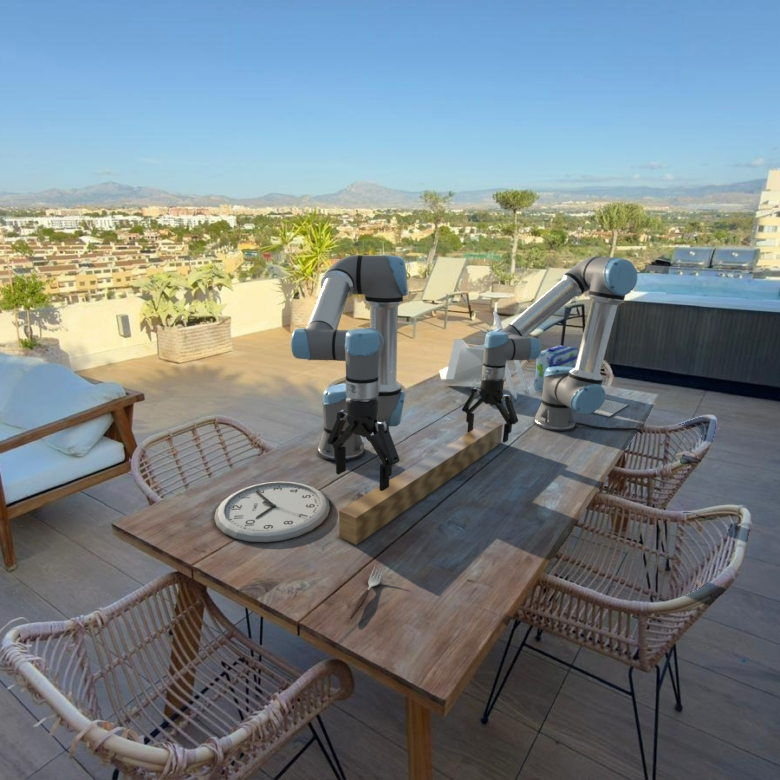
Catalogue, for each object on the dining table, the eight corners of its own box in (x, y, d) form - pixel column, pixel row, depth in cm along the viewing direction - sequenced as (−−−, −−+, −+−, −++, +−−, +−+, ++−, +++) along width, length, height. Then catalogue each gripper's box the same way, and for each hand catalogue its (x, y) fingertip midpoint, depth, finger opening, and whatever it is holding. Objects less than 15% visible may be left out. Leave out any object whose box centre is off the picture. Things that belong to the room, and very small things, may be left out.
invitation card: (608, 416, 214) (573, 407, 224) (608, 416, 214) (573, 408, 224) (628, 404, 229) (594, 396, 238) (628, 405, 229) (594, 397, 238)
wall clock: (328, 534, 126) (200, 538, 124) (328, 540, 127) (201, 544, 124) (331, 477, 155) (227, 479, 152) (331, 482, 155) (227, 484, 153)
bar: (487, 439, 189) (488, 420, 187) (501, 443, 186) (502, 423, 184) (339, 537, 128) (339, 510, 126) (356, 545, 125) (356, 517, 123)
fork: (344, 619, 101) (343, 610, 101) (374, 571, 116) (374, 563, 115) (356, 623, 100) (356, 614, 100) (385, 574, 115) (385, 566, 114)
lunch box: (550, 398, 235) (555, 353, 229) (529, 393, 243) (534, 349, 236) (577, 387, 253) (583, 345, 247) (557, 382, 260) (562, 341, 254)
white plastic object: (461, 429, 252) (437, 405, 227) (444, 352, 274) (420, 323, 250) (535, 404, 240) (518, 377, 215) (510, 326, 262) (492, 293, 237)
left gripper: (311, 390, 124) (314, 471, 131) (396, 413, 110) (394, 502, 117) (333, 383, 130) (334, 461, 137) (416, 404, 116) (413, 489, 122)
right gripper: (455, 373, 181) (450, 430, 187) (523, 387, 166) (516, 448, 173) (465, 369, 186) (461, 424, 193) (532, 382, 172) (525, 442, 178)
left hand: (362, 480), depth 127 cm, fingers open, 13 cm apart
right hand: (487, 436), depth 183 cm, fingers open, 13 cm apart
